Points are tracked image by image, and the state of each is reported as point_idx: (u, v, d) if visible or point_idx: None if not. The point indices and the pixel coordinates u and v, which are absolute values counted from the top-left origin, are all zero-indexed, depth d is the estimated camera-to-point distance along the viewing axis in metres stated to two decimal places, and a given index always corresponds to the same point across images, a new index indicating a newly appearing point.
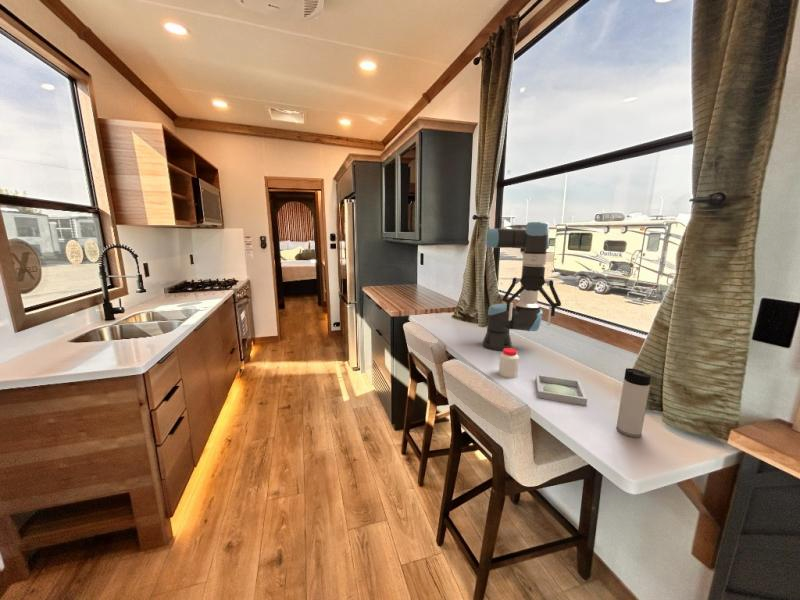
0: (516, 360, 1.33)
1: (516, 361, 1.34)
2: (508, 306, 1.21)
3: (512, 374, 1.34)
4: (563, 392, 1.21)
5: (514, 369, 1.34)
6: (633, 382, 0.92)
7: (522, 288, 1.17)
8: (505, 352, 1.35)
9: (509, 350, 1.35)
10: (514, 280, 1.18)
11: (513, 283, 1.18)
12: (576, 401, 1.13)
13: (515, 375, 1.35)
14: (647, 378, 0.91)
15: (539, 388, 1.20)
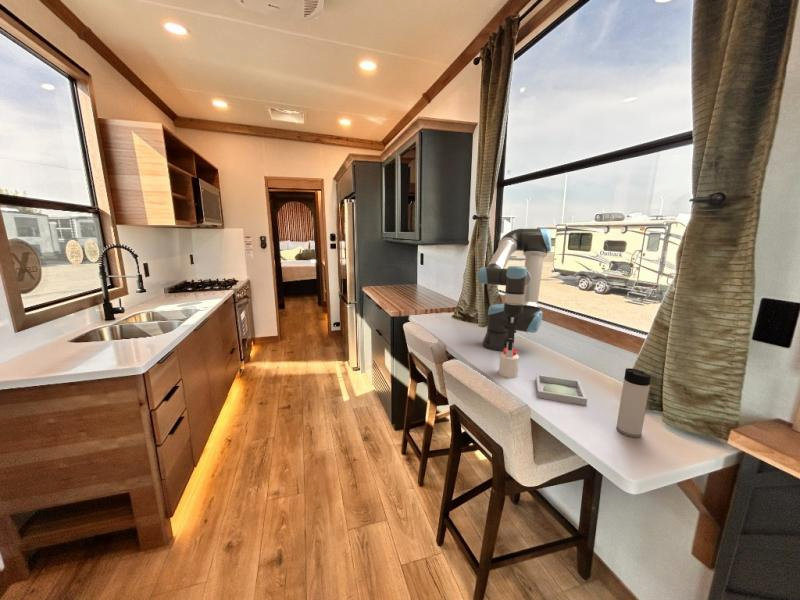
0: (516, 360, 1.33)
1: (516, 361, 1.34)
2: None
3: (512, 374, 1.34)
4: (563, 392, 1.21)
5: (514, 369, 1.34)
6: (633, 382, 0.92)
7: None
8: (505, 352, 1.35)
9: None
10: None
11: None
12: (576, 401, 1.13)
13: (515, 375, 1.35)
14: (647, 378, 0.91)
15: (539, 388, 1.20)
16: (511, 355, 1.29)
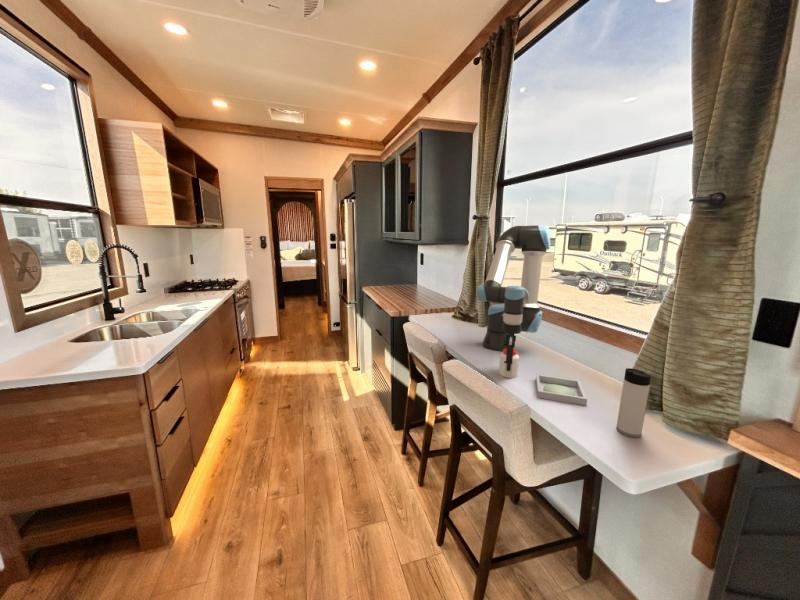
0: (516, 360, 1.33)
1: (516, 361, 1.33)
2: None
3: (512, 374, 1.34)
4: (563, 392, 1.21)
5: (514, 369, 1.34)
6: (633, 382, 0.92)
7: None
8: (505, 352, 1.35)
9: None
10: None
11: None
12: (576, 401, 1.13)
13: (515, 375, 1.35)
14: (647, 378, 0.91)
15: (539, 388, 1.20)
16: (510, 375, 1.33)
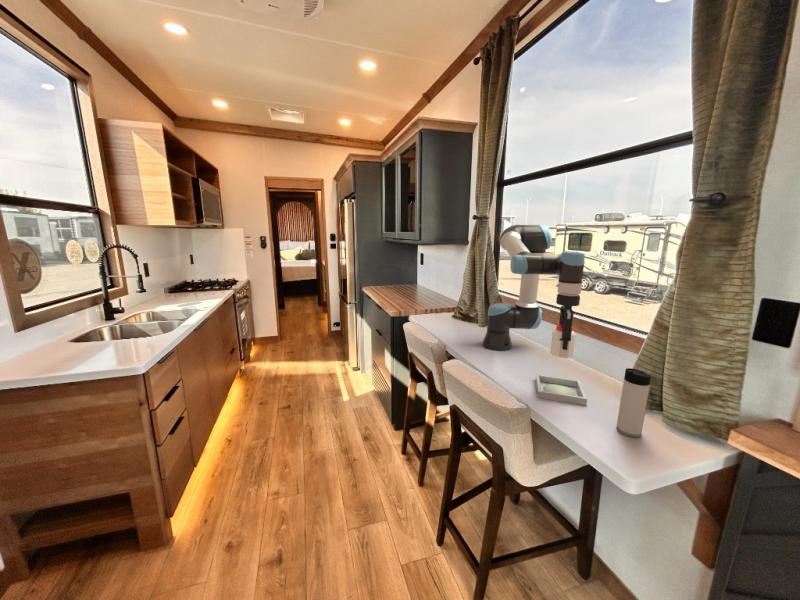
0: (573, 337, 1.15)
1: (573, 338, 1.15)
2: None
3: (568, 354, 1.16)
4: (563, 392, 1.21)
5: (570, 347, 1.15)
6: (633, 382, 0.92)
7: (560, 316, 1.20)
8: (560, 328, 1.16)
9: None
10: (561, 308, 1.23)
11: None
12: (576, 401, 1.13)
13: (571, 355, 1.16)
14: (647, 378, 0.91)
15: (539, 388, 1.20)
16: (566, 355, 1.15)
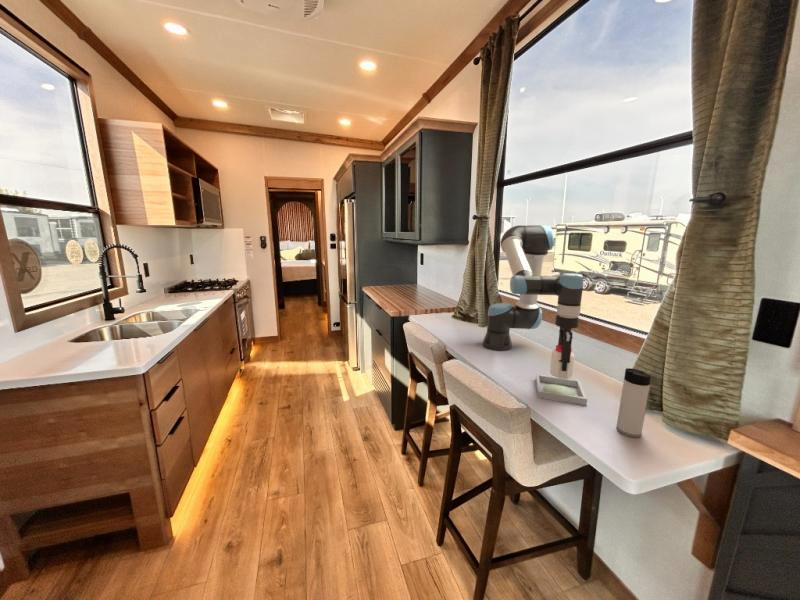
0: (572, 358, 1.16)
1: (572, 360, 1.16)
2: None
3: (567, 375, 1.17)
4: (563, 392, 1.21)
5: (569, 369, 1.17)
6: (633, 382, 0.92)
7: (559, 336, 1.21)
8: (559, 349, 1.18)
9: None
10: (560, 328, 1.24)
11: None
12: (576, 401, 1.13)
13: (570, 376, 1.18)
14: (647, 378, 0.91)
15: (539, 388, 1.20)
16: (565, 376, 1.16)
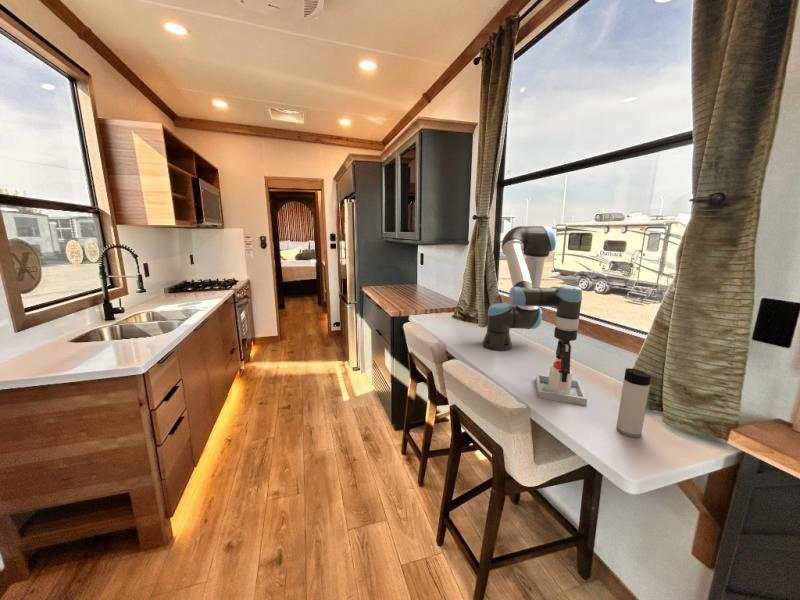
0: (570, 376, 1.18)
1: (570, 377, 1.18)
2: None
3: (565, 391, 1.18)
4: None
5: (567, 385, 1.18)
6: (633, 382, 0.92)
7: (557, 346, 1.23)
8: (557, 366, 1.19)
9: None
10: None
11: (558, 340, 1.25)
12: (576, 401, 1.13)
13: (568, 392, 1.19)
14: (647, 378, 0.91)
15: (539, 388, 1.20)
16: (565, 387, 1.15)
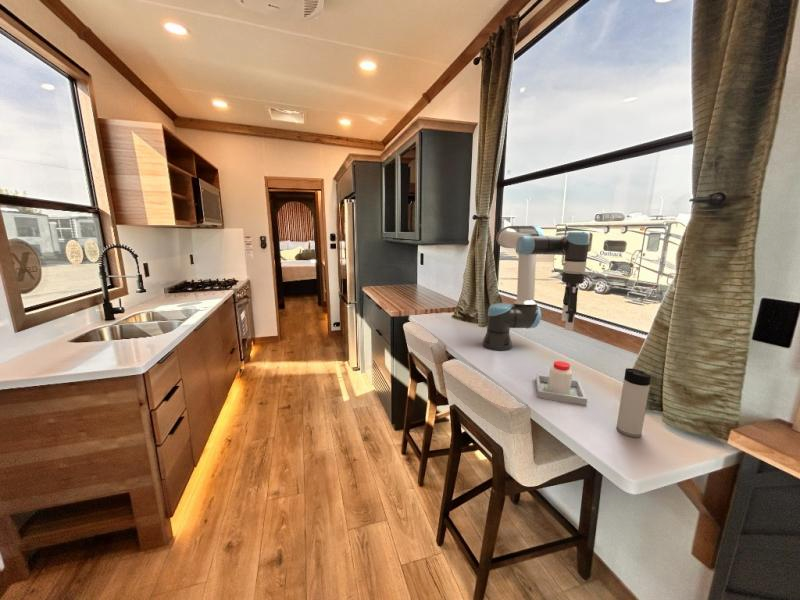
0: (570, 376, 1.18)
1: (570, 377, 1.18)
2: None
3: (565, 391, 1.18)
4: None
5: (567, 385, 1.18)
6: (633, 382, 0.92)
7: (565, 292, 1.27)
8: (557, 366, 1.19)
9: (561, 364, 1.19)
10: (566, 284, 1.29)
11: (566, 286, 1.30)
12: (576, 401, 1.13)
13: (568, 392, 1.19)
14: (647, 378, 0.91)
15: (539, 388, 1.20)
16: (571, 328, 1.19)
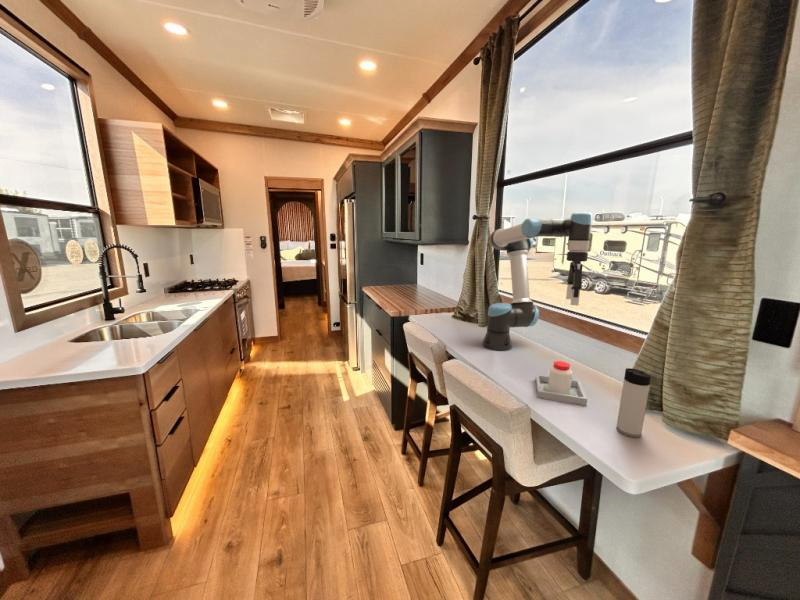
0: (570, 376, 1.18)
1: (570, 377, 1.18)
2: None
3: (565, 391, 1.18)
4: None
5: (567, 385, 1.18)
6: (633, 382, 0.92)
7: (569, 271, 1.35)
8: (557, 366, 1.19)
9: (561, 364, 1.19)
10: (570, 264, 1.37)
11: None
12: (576, 401, 1.13)
13: (568, 392, 1.19)
14: (647, 378, 0.91)
15: (539, 388, 1.20)
16: (577, 303, 1.27)
